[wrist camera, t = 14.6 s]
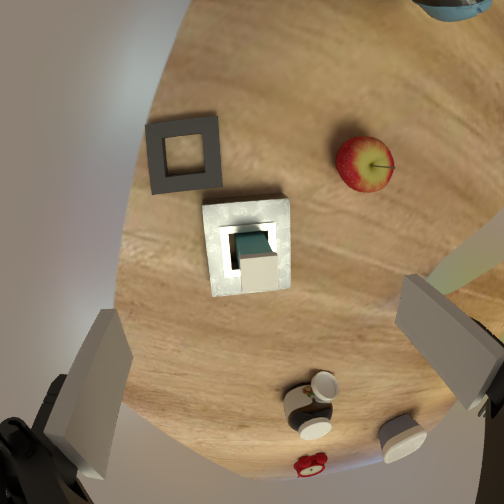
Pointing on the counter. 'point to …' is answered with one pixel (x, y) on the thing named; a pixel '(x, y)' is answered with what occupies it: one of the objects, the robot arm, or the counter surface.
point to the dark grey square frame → (188, 180)
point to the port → (245, 220)
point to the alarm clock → (310, 465)
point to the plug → (256, 262)
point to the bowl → (400, 437)
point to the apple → (365, 164)
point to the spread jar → (311, 406)
